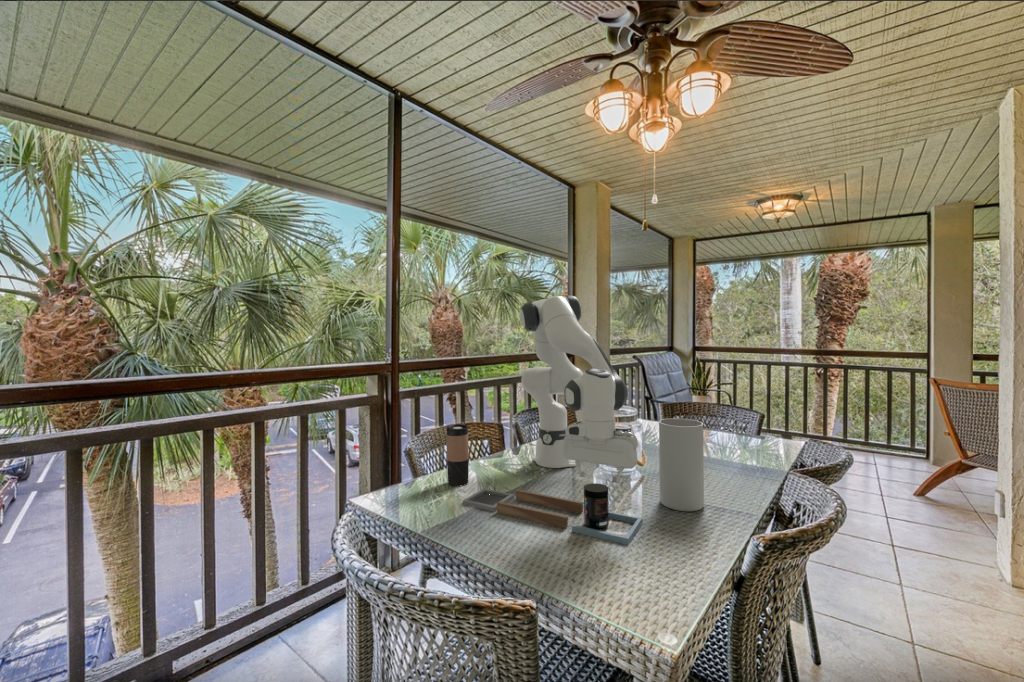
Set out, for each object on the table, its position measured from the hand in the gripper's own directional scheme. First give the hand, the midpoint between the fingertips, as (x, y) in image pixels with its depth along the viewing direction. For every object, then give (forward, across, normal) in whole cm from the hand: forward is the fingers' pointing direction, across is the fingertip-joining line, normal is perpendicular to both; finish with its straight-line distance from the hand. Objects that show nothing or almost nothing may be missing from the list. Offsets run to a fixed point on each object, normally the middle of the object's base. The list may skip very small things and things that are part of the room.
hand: (599, 479), depth 119 cm
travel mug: (+13, +55, -9) cm, 57 cm away
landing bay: (+12, -2, +1) cm, 13 cm away
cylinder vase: (+13, -17, -25) cm, 33 cm away
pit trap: (+13, +36, 0) cm, 38 cm away
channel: (+13, +18, +1) cm, 22 cm away
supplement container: (+13, +1, +1) cm, 13 cm away
